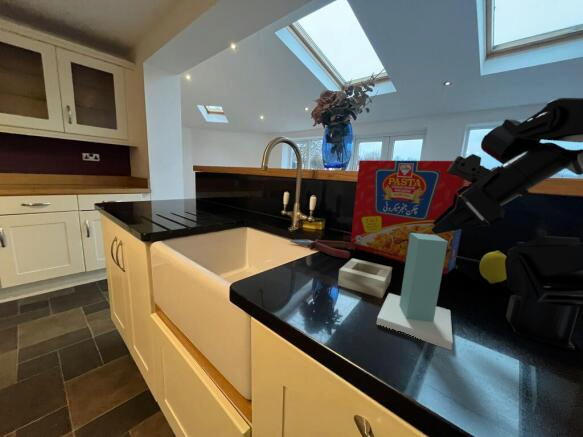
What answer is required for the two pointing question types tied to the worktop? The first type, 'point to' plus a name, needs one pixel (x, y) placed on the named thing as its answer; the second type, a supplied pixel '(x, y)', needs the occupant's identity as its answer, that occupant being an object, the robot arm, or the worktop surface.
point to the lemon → (493, 267)
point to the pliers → (328, 247)
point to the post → (422, 276)
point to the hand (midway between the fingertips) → (433, 227)
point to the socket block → (365, 277)
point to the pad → (417, 323)
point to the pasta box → (403, 206)
